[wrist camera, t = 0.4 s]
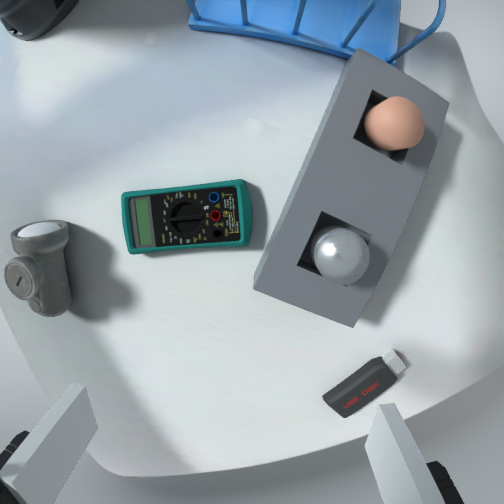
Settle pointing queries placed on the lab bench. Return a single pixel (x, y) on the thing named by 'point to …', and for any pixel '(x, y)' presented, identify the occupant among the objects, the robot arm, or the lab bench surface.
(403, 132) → the peach rounded dome part
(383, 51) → the file sorter
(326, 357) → the lab bench surface
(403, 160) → the block
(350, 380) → the usb drive
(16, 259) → the pipe fitting
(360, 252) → the steel plunger
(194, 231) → the digital multimeter
